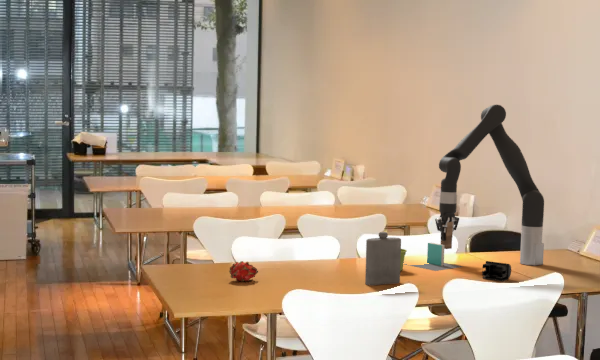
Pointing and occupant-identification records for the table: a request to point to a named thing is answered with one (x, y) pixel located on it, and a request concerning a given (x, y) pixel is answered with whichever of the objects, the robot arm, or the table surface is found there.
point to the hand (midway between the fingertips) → (446, 240)
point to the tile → (435, 254)
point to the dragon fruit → (242, 271)
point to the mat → (436, 266)
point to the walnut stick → (448, 236)
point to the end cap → (496, 271)
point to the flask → (383, 260)
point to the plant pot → (402, 258)
